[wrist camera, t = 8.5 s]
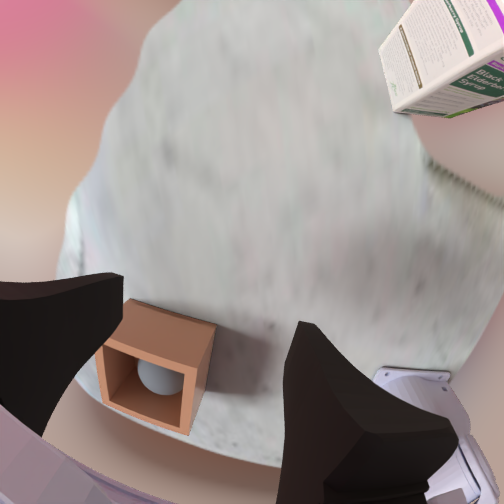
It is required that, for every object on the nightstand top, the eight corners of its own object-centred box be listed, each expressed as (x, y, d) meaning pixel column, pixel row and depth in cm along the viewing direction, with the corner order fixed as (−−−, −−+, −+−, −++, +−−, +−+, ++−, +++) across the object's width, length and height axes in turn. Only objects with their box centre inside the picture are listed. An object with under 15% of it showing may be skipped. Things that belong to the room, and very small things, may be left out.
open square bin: (216, 324, 22) (197, 368, 16) (204, 391, 24) (188, 435, 18) (129, 298, 22) (92, 330, 17) (130, 366, 25) (102, 402, 19)
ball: (192, 334, 23) (195, 369, 18) (187, 372, 24) (190, 407, 20) (140, 328, 21) (133, 362, 17) (140, 367, 23) (136, 402, 18)
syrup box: (391, 114, 17) (530, 45, 3) (375, 47, 15) (460, -65, 1) (449, 119, 16) (586, 87, 2) (433, 56, 15) (537, -15, 1)
